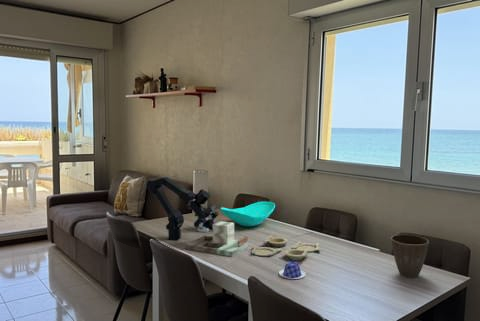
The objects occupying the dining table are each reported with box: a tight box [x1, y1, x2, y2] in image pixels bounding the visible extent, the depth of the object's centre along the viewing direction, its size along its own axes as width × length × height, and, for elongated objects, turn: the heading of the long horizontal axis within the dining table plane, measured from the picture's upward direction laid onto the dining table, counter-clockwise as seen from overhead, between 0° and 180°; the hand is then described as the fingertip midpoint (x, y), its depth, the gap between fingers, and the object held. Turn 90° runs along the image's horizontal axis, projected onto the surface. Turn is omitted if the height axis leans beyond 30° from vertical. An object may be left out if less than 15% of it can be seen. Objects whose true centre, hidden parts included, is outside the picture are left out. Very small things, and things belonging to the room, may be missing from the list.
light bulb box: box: [196, 216, 211, 233], centre depth 241 cm, size 11×7×11 cm, turn 168°
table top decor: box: [220, 201, 276, 228], centre depth 251 cm, size 40×28×13 cm
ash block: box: [212, 220, 235, 245], centre depth 207 cm, size 9×8×10 cm
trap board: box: [185, 234, 249, 257], centre depth 205 cm, size 28×19×6 cm
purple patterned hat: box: [278, 261, 307, 280], centre depth 167 cm, size 12×12×5 cm
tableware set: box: [251, 234, 322, 261], centre depth 199 cm, size 35×29×4 cm
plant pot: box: [390, 234, 430, 279], centre depth 165 cm, size 15×15×16 cm
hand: (216, 231), depth 209 cm, fingers closed, pressing on ash block
